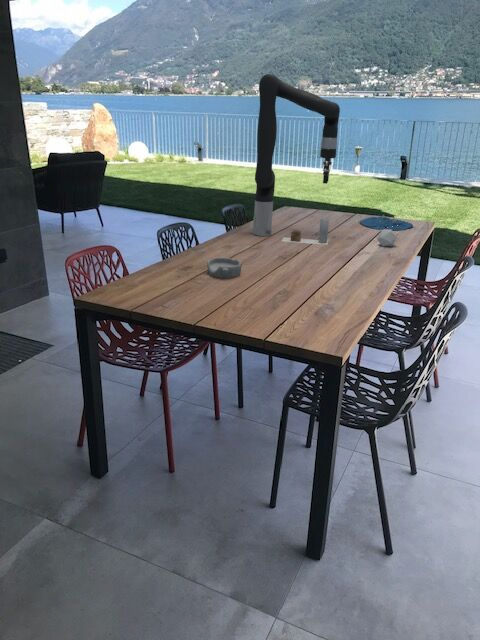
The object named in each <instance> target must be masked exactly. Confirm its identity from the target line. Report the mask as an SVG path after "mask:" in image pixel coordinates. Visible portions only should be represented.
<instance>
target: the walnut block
mask: <svg viewBox="0 0 480 640" xmlns="http://www.w3.org/2000/svg"><path fill="white" fill-rule="evenodd" d="M290 238H291V241H296V242H300V240H301V239H302V230H297V229H292V230H291V232H290ZM296 242H295V243H296Z"/></svg>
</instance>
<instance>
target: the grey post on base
mask: <svg viewBox="0 0 480 640" xmlns="http://www.w3.org/2000/svg"><path fill="white" fill-rule="evenodd" d="M319 220H320V221H319V232H318V239H310V238H309V239H307V238H301V240H300V242H296V241H291V237H282V239H281V242H286V243H298V244H300V243H301V244H311V245H312V244H313V245H326V246H327V245H328V244H329V240H328V235H329V232H328V231H329V223H330V222H329V221H330V220H329V219H328V218H320V219H319Z"/></svg>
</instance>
